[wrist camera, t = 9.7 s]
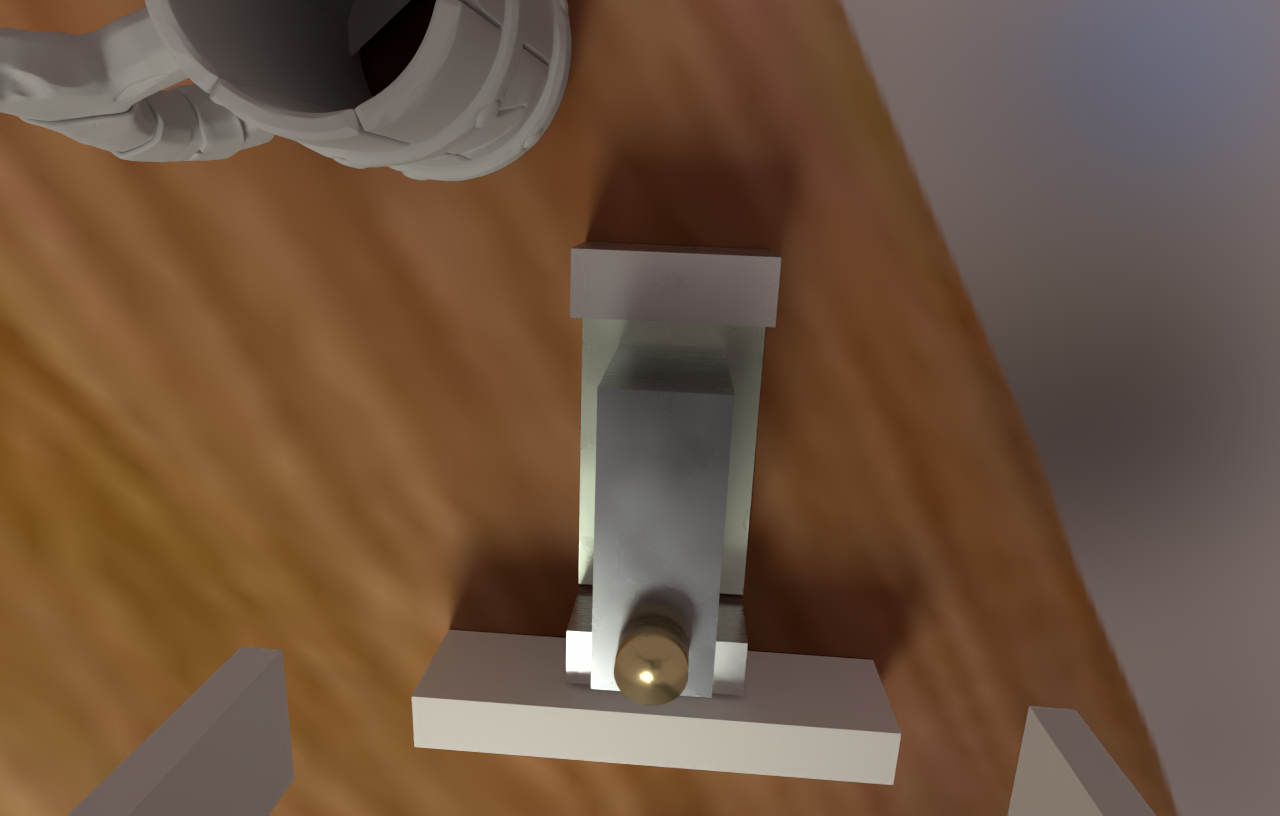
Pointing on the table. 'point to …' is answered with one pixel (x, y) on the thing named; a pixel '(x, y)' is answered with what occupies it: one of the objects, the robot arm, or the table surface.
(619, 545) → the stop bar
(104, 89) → the mug
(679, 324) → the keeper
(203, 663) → the table surface
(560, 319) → the table surface
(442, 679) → the door edge
